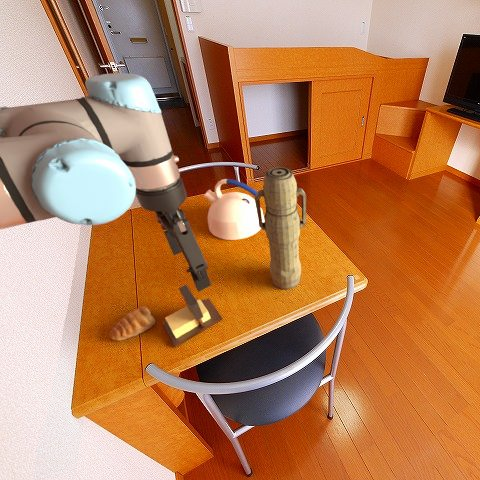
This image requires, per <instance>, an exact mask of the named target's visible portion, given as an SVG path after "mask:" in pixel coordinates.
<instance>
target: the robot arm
mask: <svg viewBox="0 0 480 480" xmlns="http://www.w3.org/2000/svg"><path fill="white" fill-rule="evenodd" d="M84 83H85V88H86V94H87V96H81V97H80V98H73V99H67V100H66V99H65V100H58V101H50V102H43V103H42V102H41V103H34V104H26V105H18V106H17V105H16V106H11V107H10V106H9V107H8V106H6V105H5V106H0V231H1V230H4V229H10V228H13V227H17V226H21V225H25V224H30V223H35V222H40V221H47V220H49V219H54V218H57V219H59V220H61V221H63V222H66V223H69V224H74V225H80V226H100V225H104V224H107V223H110V222H113V221H115V220H117V219H118V218H119V217H121V216H122V215H124V214H125V213H126V212H127V211H128V210H129V209H130V207H131V206H132V205H133V203H134V200H135V199H136V198H137V201H138V203H139V205H140V206H141V208H142V209H143V210H146V211H149V212H154V213H155V216H156V219H157V223H158V224H159V225H160V228H161V230H163V233H164V236H165V238H166V241H167V243H168V246H169V247H170V250H171V252H172V255H173V256H176V255H178V254H182V255H183V257H184V259H185V261H186V263H187V265H188V267H187V269H186V270H185V271H186V273H187V274H190V275H191V278H192V281H193V283H194V286H195V289H196V291H197V292H201V291H203V290H205V289H207V288H209V287H211V286H212V283H211V280H210V277H209V274H208V271H207V270H208V269H209V265H208V263H207V261H206V259H205V257H204V254H203V252H202V250H201V248H200V246H199V243H198V241H197V239H196V236H195V235H194V233H193V230H192V228H191V224H190V221H189V219H187V218H186V214H185V212H184V210H183V209H182V208H180V207H181V205H182V204H184V203H185V201H186V200H187V197H188V194H187V191H186V187H185V184H184V181H183V179H182V177H181V176H180V175H181V173H180V170H179V166H178V165H177V163H178V162H179V161H180V158H179V156H178V155H174V151H173V149H172V146H171V142H170V138H169V136H168V132H167V129H166V125H165V122H164V117H163V115H162V109H161V108H160V106H159V103H158V100H157V98H156V95H155V92H154V90H153V88H152V85H151V84H150V82H149V81H148V80H147V79H146V78H145V77H144V76H141V75H140V74H135V73H129V72H128V73H126V72H125V73H124V72H118V73H117V72H115V73H102V74H100V75H93V76H90V77H87V78H86V80H85V82H84Z"/></svg>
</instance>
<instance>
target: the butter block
mask: <svg viewBox="0 0 480 480" xmlns="http://www.w3.org/2000/svg"><path fill="white" fill-rule="evenodd" d="M164 319H165V321H167V323H168V324H169V326H170V328H171V330H172V332H173V334H174V336H175V337H176V338H178V337H180V336H181V335H183V334H185V333H186V332H188V331H190V330H192V329H193V328H195V327H197V326H198V325H200V323H199V321H196V319H195V318H194V316H193V314H192V313H191V311H190V309H189V308H188V306H187V305H186V306H184V307H182V308H180V309H179V310H176V311H174V312H173V313H171V314H169V315H167V316H166V317H165V318H164Z"/></svg>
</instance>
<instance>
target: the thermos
mask: <svg viewBox="0 0 480 480" xmlns="http://www.w3.org/2000/svg"><path fill="white" fill-rule="evenodd" d="M297 184H298V183H297V180H296V178H295V176H294V173H293V171H292V170H291V169H289V168H286V167H283V166H276V167H272V168H270V169H268V170H267V171H266V172H265V174H264V178H263V185H262V189H259V190H258V191H257V192H258V193H257V194H256V196H254V199H255V204H256V209H257V215H258V220H259V227H260V228H261V229H260V230H263V231H264V232H265V235H266V238H267V239H268V246H269V255H270V261H269V272H270V277H271V283H272V284H273V286H274V287H276V288H277V289H280V290H284V291H285V290H286V291H288V290H292V289H294V288H296V287H297V286H298V285H299V284H300V283H301V279H302V278H301V277H302V276H301V275H302V264H301V260H300V251H299V250H300V248H299V247H300V244H299V243H300V242H299V239H300V236H301V230H302V227H306V225H307V194H306V192H305V191H304V190H303V188H302V187H298V186H297ZM300 195H301V215H300V213H299V211H298V197H299V196H300ZM261 197H263V198H264V199H263V200H264V204H265V205H264V206H265V213H264V222H262V215H261V209H262V206H261V201H260V200H261Z"/></svg>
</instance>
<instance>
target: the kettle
mask: <svg viewBox="0 0 480 480" xmlns="http://www.w3.org/2000/svg"><path fill="white" fill-rule="evenodd" d="M225 184H227V185H232V186H235V187H238V188H241V189H243V190H245V191H246V192H248V193H250V194H251V195H252V196H253V197H255V196H256V194H257V193H258V191H257V190H256V189H255V188H253V187H251V186H249V185H248V184H247V183H244V182H242V181H238V180H235V179H232V178H231V179H230V178H224V179H223V178H222V179H221V180H219V181H217V183H216V184H215V185H214V192H213V191H212V190H211V189H208V190H206V192H205V193H204V195H203V197H204V198H205V199H206V200H207V201H209V202H210V203H211V205H210V206H209V208H208V213H207V224H208V230H209V232H210V233H211V234H212V235H213V236H214V237H217V238H218V239H222V240H226V241H227V240H228V241H236V240H243V239H246V238H249V237H252V236H254V235H255V234H257V233H259V231H261V230H262V229H261V228H260V227H259V220H258V215H257V209H256V204H255V198H253V197H252V196H251V195H249V194H246V193H244V192H240V191H231V192H226V193H223V194H222V191H221V186H222V185H225ZM261 215H262V222H265V221H264V217H265V215H264V212H263V209H262V208H261Z"/></svg>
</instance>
